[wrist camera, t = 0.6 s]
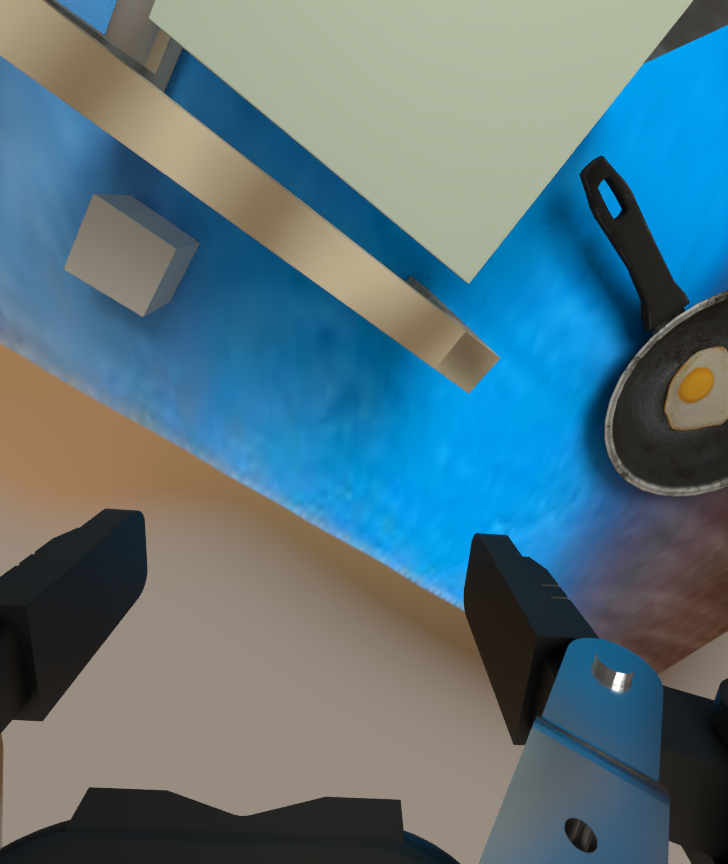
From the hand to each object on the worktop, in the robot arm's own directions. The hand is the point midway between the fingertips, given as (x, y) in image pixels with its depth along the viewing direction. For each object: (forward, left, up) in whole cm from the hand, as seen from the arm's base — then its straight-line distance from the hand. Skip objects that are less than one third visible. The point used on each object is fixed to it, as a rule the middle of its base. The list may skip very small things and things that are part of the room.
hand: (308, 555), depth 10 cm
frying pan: (+23, +14, -26) cm, 38 cm away
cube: (-13, -4, -26) cm, 29 cm away
